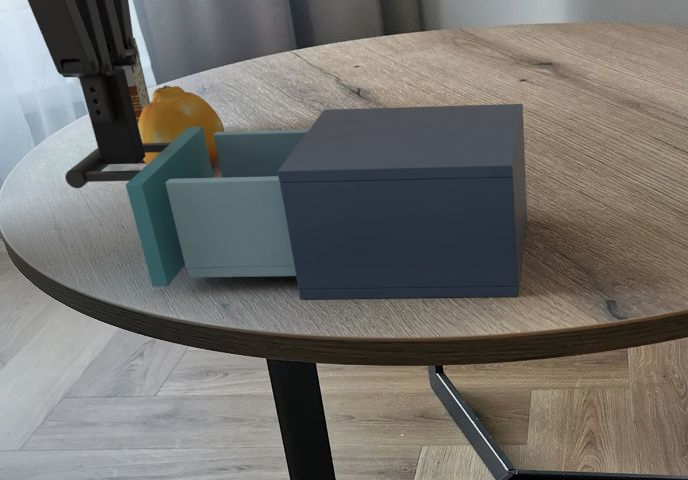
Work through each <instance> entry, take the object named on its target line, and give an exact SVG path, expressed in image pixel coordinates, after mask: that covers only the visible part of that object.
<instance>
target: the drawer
mask: <svg viewBox="0 0 688 480" xmlns="http://www.w3.org/2000/svg"><path fill="white" fill-rule="evenodd" d="M309 129H310V128H305V129H304V128H303V129H299V128H298V129H267V130H266V129H265V130H264V129H263V130H234V131H232V130H231V131H227V130H226V131H225V132H216V133H215V134H214V139H215V143H216V148H217V153H218V163H219V167H220V171H221V176H222V177H214V173H213V168H212V165H211V163H210V158H209V154H208V149H207V145H206V140H205V135H204V131H203V127H188V128H187V129H186V130H185V131H184V132H183V133H182V134H181V135H179V136H178V137H177V138H176V139H175V140H174V141H173V142H171V143H143V147H144V152H145V153H152V152H161V153H160V154H159V155H158V156H156V157H155V158H154V159H153V160H152V161H151V162H150V163H149V164H148V165H147V164H146V165H145V166H144V167H143V168H141V169H140V170H139V169H136V170H135V169H133V170H132V169H131V170H104V169H106V168H107V167H108V166H110V164H102V160H101V156H100V153H99V149H98V147H97V148H96V149H94V150H93V151H91V152H90V153H89V154H87V156H85V157H84V158H83V159H82V160H80V161H79V162H78V163H77V164H75V165H73V166H72V167H71V168H70V169H69V170H68V171H67V172H66V173H65V177H64V178H65V181H66V183H67V185H69V186H70V187H71V188H74V189H81V188H83V187H84V186H85V185H86V184H88V183H93V182H95V183H97V182H100V183H101V182H127V183H125V189H126V193H127V196H128V200H129V203H130V207H131V211H132V214H133V219H134V223H135V226H136V229H137V234H138V238H139V241H140V245H141V248H142V253H143V256H144V260H145V264H146V268H147V271H148V275H149V279H150V283H151V286H152V287H169V286H170V284H171V283H172V282H173V280H174V279H175V278H176V277H177V276H178V274H179V273H180V272H181V271H182V269H183V268H184V266H185V269H186V273H187V277H188V278H246V277H247V278H250V277H251V278H252V277H255V278H256V277H296V272H295V266H294V261H293V255H292V249H291V244H290V238H289V233H288V227H287V221H286V216H285V210H284V205H283V199H282V193H281V188H280V182H279V177H278V170H279V169H280V168H281V166H282V165H283V164H284V162H285V161H286V160H287V158H288V157H289V156H290V154H291V153H292V152H293V150H294V149H295V148H296V146H297V145H298V144H299V142H300V141H301V140H302V138H303V137H304V136H305V134H306V133H307V132H308V130H309Z"/></svg>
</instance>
